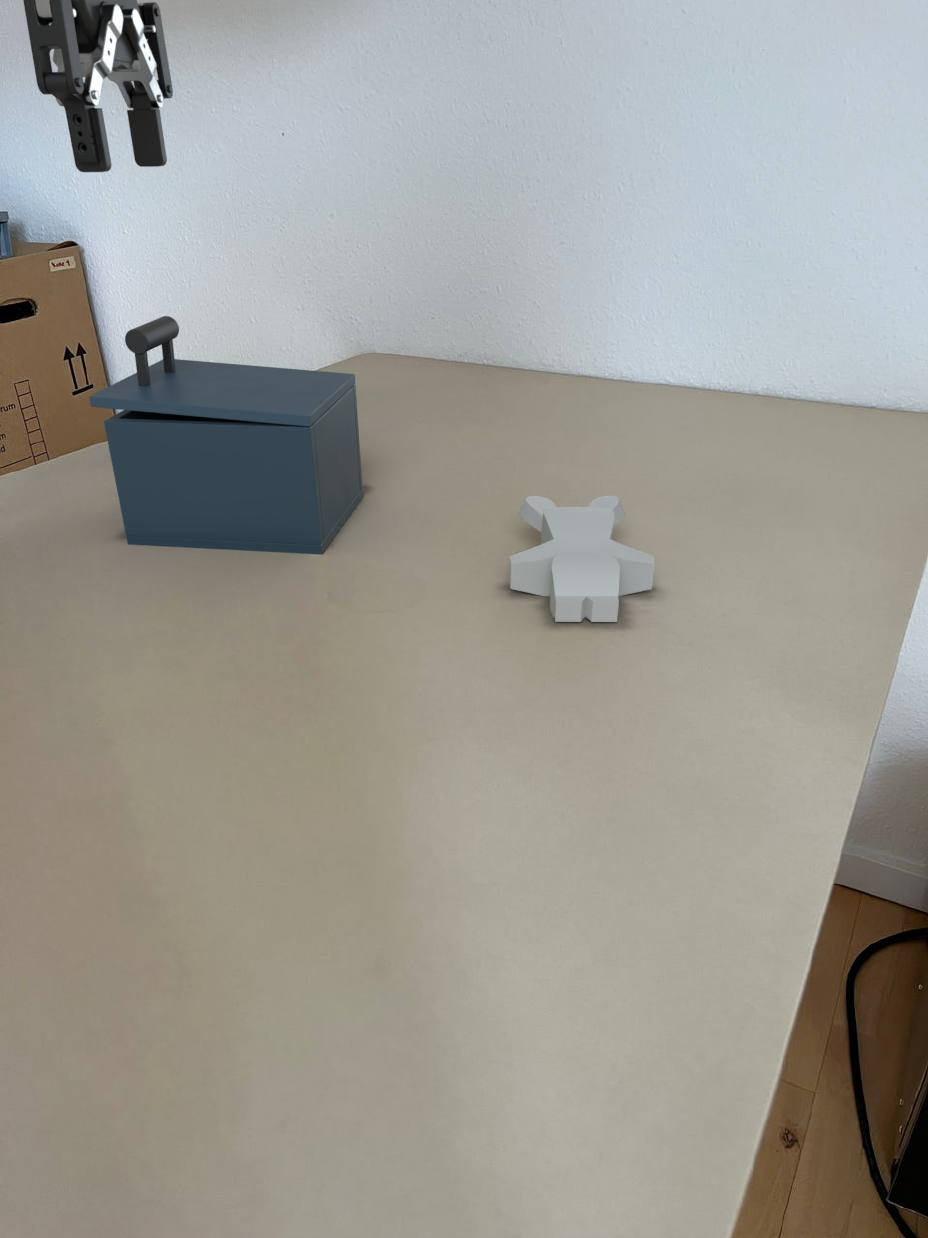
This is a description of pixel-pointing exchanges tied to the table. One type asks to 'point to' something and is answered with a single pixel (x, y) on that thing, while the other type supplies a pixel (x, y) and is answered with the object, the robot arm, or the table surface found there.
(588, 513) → the white teddy bear figure
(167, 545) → the bin
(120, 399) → the bin lid
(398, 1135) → the table surface
